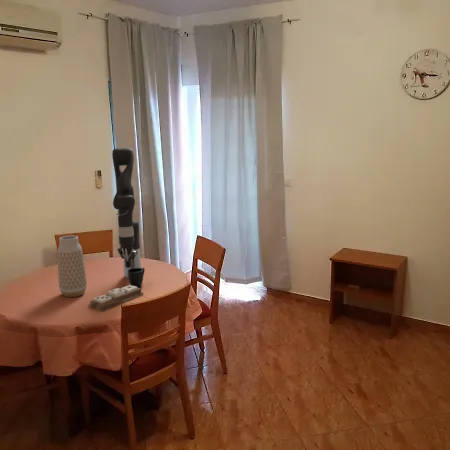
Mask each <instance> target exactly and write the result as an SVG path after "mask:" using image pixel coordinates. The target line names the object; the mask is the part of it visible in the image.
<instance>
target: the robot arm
mask: <svg viewBox="0 0 450 450" xmlns="http://www.w3.org/2000/svg"><path fill="white" fill-rule="evenodd" d="M111 155H112V156H111V157H112V164H113V170H114V176H115V177H114V178H115V187H116V188H115V189H116V193H115V195H114V197H113V200H112V201H113V202H112V204H113V208H114V209H115V210H117V211H118V216H117V224H118V229H117V230H118V245H120V247H119V248H117V252H118V254H119V255H120V257H121V259H123V273H124V274H123V275H124V277H125V278H126V279H128V270H129V269H132V268H142V263H141V249H140V248H141V247H140V246H141V245H140V224H139V222H138V221H137V220H133V214H134V213H133V212H134V209H135V204H136V199H135V195H134V194H135V193H134V186H132V177H133V176H132V175H133V171H134V164H135V163H134V162H135V156H134V150H133V149H132V148H131V147H128V148H127V147H121V148H120V147H119V148H113V150H112V153H111ZM123 166H125V168H124V170H123V171H122V168H121V167H123Z"/></svg>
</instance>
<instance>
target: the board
mask: <svg viewBox="0 0 450 450" xmlns="http://www.w3.org/2000/svg"><path fill="white" fill-rule="evenodd" d="M105 295H106V296H108V293H107V294H105ZM141 296H144V292H142V288H141V287H140V288H138V289H137V290H135V291H132V292H130V293H126V292H125V295H122V296H120V297H117V298H112V300H110V301H107V302H105V303H102V304H101V303H98V302H95V301H94V299H92V300H89V303H88V307H89V308H92V309H95V310H98V311H100V312H101V311H102V312H105V311H107V310H109V309H112V308H115V307H116V306H117V307H118V306H119V305H121V304H124V303H127V302H130V301H131V300H134V299H136V298H139V297H141Z"/></svg>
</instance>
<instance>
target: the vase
mask: <svg viewBox="0 0 450 450" xmlns="http://www.w3.org/2000/svg"><path fill="white" fill-rule="evenodd" d="M58 240H59V245H58V248H57V272H58V274H57V275H58V287H59V291H60V293H61V294H62V295H63V296H64V297H65V298H76V297H79V296H82V295H83V294H84V293H85V291H86V290H87V287H88V285H87V273H86V268H85V266H86V265H85V260H84V254H83V248H82V246H81V244H80V243H79V236H78V235H64V236H61V237H59V239H58Z"/></svg>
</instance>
